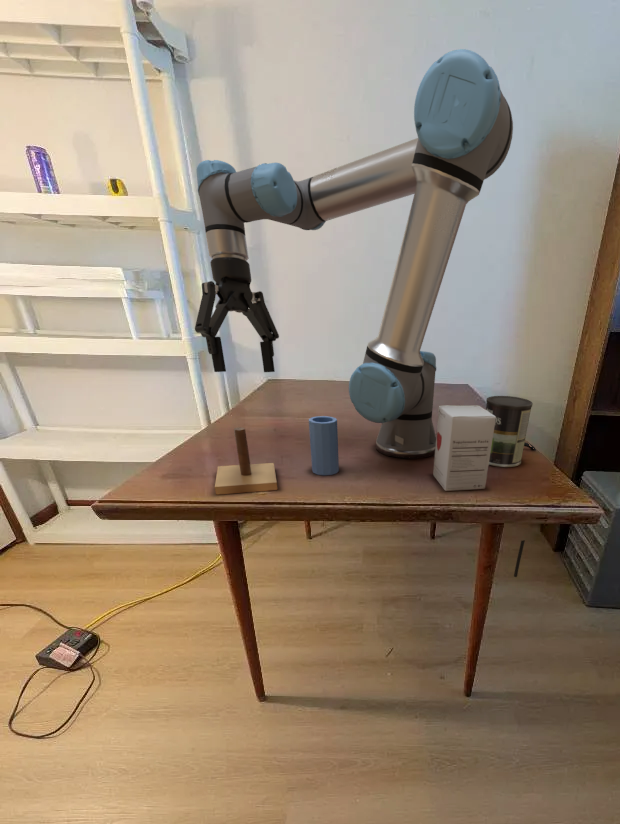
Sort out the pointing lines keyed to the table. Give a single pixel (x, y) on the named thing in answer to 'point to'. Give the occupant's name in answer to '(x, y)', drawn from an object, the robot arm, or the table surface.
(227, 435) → the table surface
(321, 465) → the blue hollow tube
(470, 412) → the white product box
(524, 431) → the coffee can
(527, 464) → the table surface
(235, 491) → the stand
